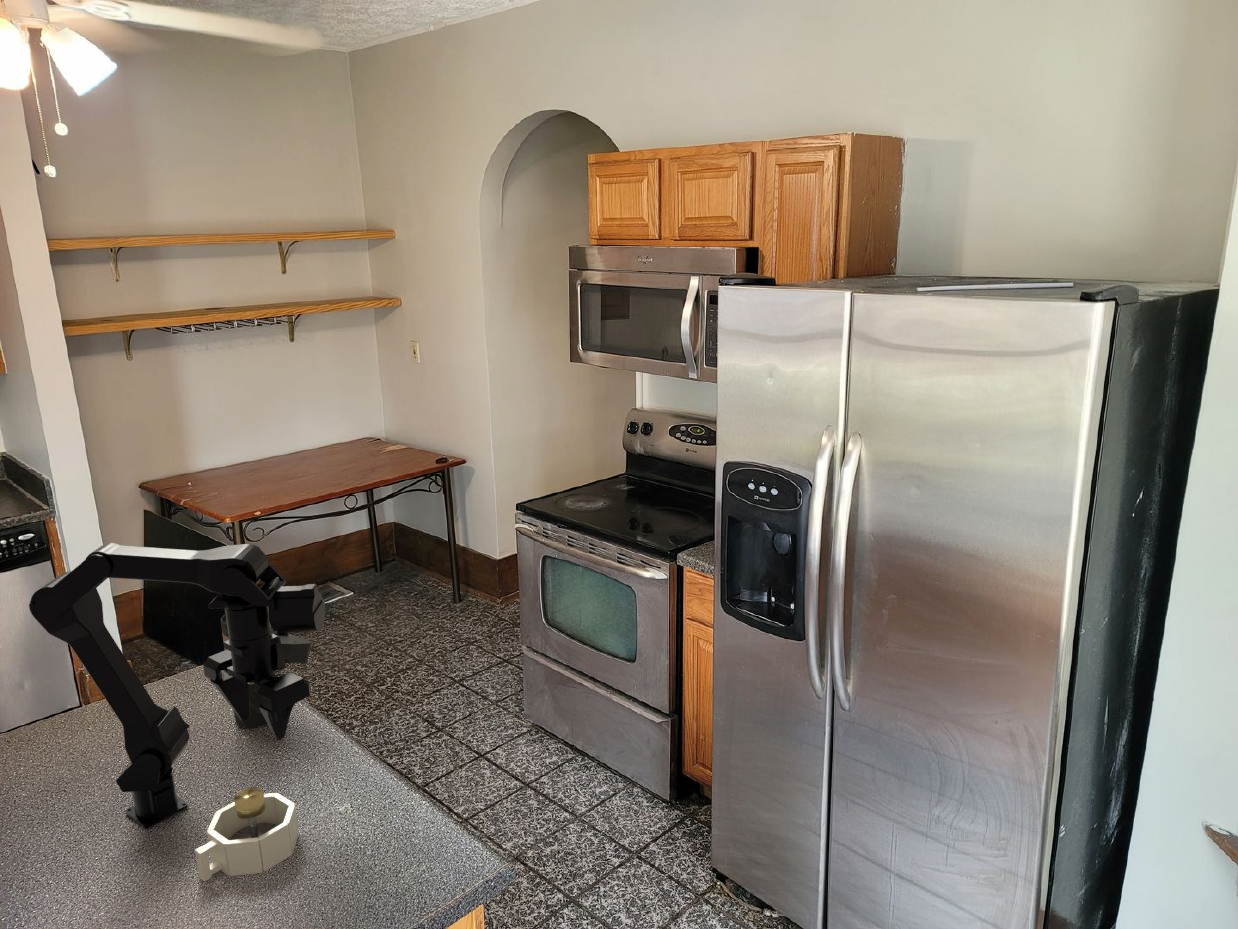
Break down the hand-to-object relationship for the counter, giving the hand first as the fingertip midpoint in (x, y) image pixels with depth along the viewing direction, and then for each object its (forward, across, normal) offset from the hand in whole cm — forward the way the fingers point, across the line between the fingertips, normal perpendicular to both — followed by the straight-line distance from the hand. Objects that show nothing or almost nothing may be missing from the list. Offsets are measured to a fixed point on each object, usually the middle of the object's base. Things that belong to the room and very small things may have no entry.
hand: (262, 729), depth 132 cm
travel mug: (+13, +25, -13) cm, 31 cm away
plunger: (+12, -7, +7) cm, 16 cm away
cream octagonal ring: (+13, -7, +8) cm, 17 cm away
